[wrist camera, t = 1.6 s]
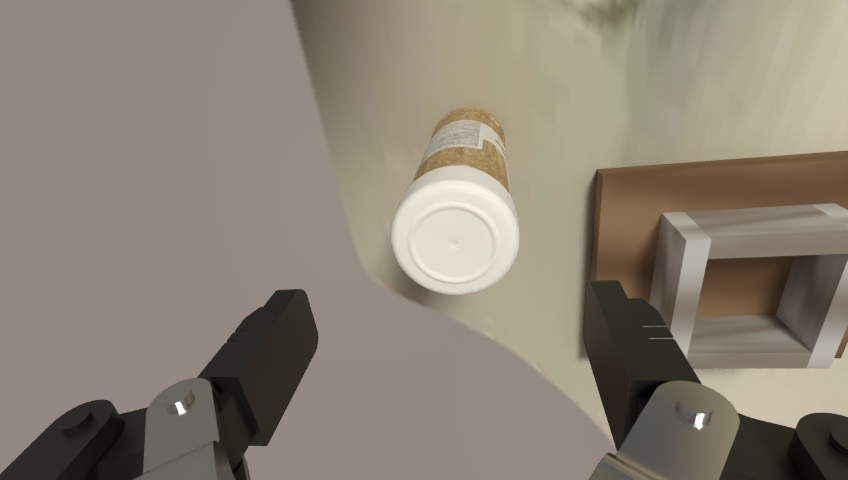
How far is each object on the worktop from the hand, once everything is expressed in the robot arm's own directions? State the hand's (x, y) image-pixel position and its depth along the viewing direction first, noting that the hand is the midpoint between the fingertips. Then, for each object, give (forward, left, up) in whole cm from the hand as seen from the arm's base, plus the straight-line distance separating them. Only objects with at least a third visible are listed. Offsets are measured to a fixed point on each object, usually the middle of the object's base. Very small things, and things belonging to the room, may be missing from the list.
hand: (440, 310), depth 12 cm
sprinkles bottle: (0, 0, -17) cm, 17 cm away
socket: (+9, +16, -17) cm, 25 cm away
